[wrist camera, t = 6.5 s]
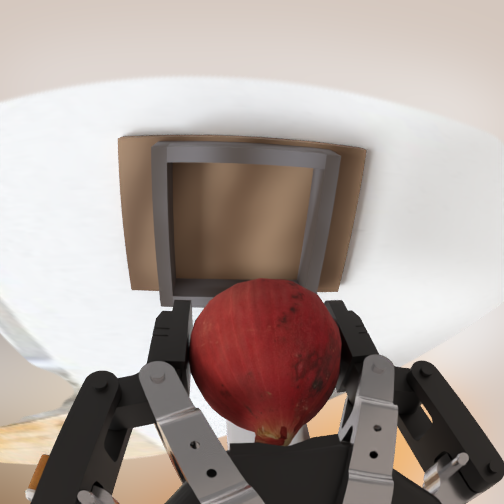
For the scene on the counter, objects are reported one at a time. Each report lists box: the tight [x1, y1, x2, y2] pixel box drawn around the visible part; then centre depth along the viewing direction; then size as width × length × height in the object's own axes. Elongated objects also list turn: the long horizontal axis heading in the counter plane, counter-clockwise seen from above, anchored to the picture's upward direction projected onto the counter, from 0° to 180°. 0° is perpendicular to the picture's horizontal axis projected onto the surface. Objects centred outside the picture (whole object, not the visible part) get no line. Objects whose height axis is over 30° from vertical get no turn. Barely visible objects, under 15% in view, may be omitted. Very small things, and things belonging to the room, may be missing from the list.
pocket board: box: [118, 135, 366, 308], centre depth 23 cm, size 18×13×4 cm
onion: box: [189, 278, 342, 446], centre depth 12 cm, size 6×6×8 cm
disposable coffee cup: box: [25, 455, 49, 501], centre depth 40 cm, size 10×10×12 cm
